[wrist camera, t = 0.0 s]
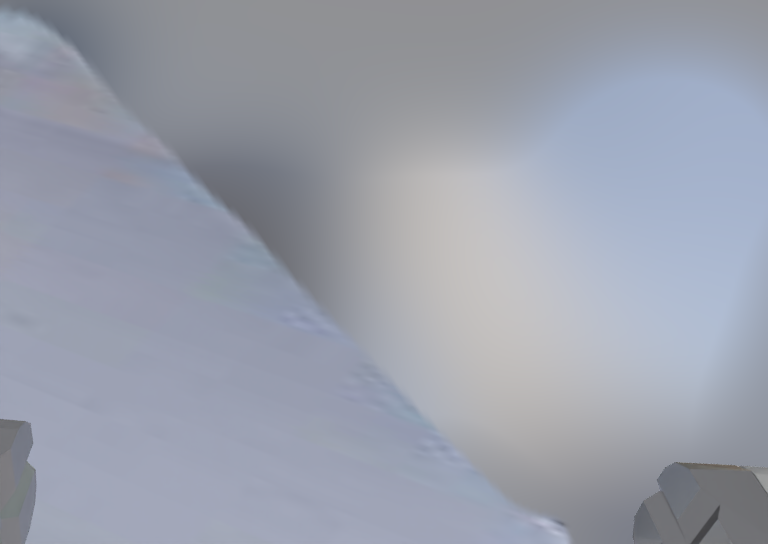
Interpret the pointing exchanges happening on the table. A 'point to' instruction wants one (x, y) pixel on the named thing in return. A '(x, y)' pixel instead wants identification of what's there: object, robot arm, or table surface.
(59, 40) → the table surface
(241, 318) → the table surface
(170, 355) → the table surface
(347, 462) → the table surface
